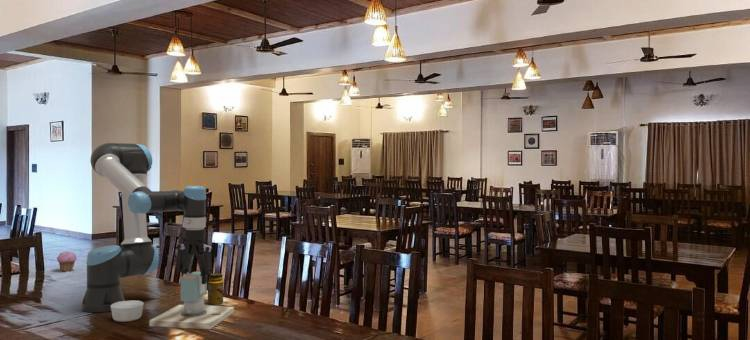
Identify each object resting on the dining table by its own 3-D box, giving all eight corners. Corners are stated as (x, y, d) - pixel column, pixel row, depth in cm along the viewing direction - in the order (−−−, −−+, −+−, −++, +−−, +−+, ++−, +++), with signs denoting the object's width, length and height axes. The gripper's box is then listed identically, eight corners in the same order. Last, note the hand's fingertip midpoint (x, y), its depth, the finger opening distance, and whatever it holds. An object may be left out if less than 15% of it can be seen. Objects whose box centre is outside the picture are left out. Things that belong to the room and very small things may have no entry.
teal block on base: (191, 307, 208) (191, 270, 208) (209, 307, 207) (209, 271, 207) (177, 316, 196) (177, 277, 196) (196, 316, 195) (197, 277, 195)
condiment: (226, 304, 223) (226, 274, 223) (205, 307, 218) (205, 276, 218) (220, 300, 229) (221, 271, 229) (200, 303, 224) (200, 273, 224)
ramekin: (122, 324, 194) (122, 309, 194) (103, 319, 200) (103, 304, 200) (150, 317, 203) (150, 303, 203) (131, 312, 209) (131, 298, 209)
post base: (149, 326, 192) (149, 319, 192) (179, 309, 214) (179, 303, 214) (210, 329, 189) (210, 322, 189) (234, 312, 211) (234, 306, 211)
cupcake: (54, 271, 285) (54, 251, 285) (72, 268, 291) (72, 249, 291) (61, 273, 279) (61, 253, 279) (79, 271, 286) (79, 251, 285)
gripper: (166, 228, 201) (165, 292, 201) (211, 231, 195) (210, 296, 195) (179, 226, 208) (178, 287, 208) (223, 228, 202) (222, 292, 202)
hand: (194, 291), depth 202 cm, fingers closed on teal block on base, 6 cm apart
